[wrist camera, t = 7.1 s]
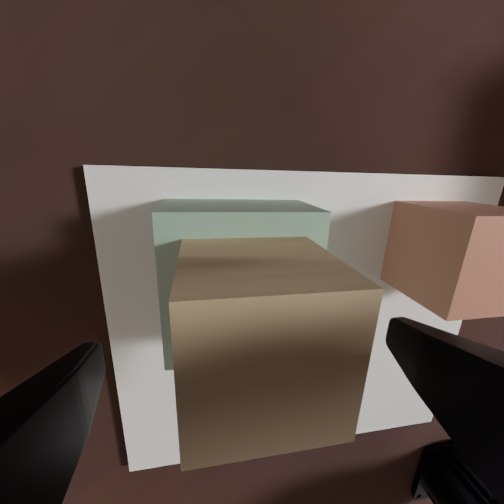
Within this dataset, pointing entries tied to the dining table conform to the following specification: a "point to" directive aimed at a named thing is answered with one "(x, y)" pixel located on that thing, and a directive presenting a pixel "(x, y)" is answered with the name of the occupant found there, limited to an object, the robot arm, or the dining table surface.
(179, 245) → the pedestal
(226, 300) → the beech cube
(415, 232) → the terracotta cube
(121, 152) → the dining table surface
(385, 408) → the board
